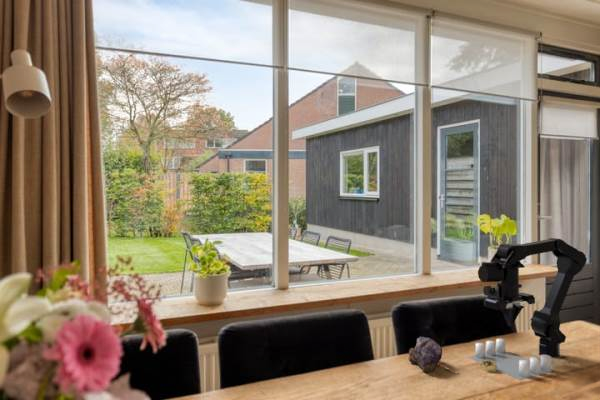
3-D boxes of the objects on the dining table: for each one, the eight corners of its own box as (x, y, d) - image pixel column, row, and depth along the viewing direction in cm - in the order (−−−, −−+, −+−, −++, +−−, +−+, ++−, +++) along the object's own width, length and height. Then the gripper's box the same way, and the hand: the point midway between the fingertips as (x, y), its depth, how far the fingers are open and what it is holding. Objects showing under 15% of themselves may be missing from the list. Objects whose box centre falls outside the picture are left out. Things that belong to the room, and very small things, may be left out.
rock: (418, 377, 136) (448, 374, 137) (419, 352, 134) (449, 350, 135) (405, 358, 147) (433, 355, 148) (406, 335, 146) (433, 333, 147)
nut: (488, 364, 139) (486, 357, 139) (500, 370, 135) (499, 363, 135) (478, 370, 138) (476, 363, 138) (490, 376, 133) (489, 369, 133)
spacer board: (501, 352, 153) (501, 337, 153) (554, 373, 135) (554, 356, 135) (468, 360, 146) (468, 344, 146) (519, 383, 128) (519, 365, 128)
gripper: (507, 274, 157) (508, 316, 157) (471, 279, 149) (471, 323, 149) (535, 279, 147) (536, 324, 147) (498, 285, 139) (498, 332, 139)
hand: (510, 325), depth 146 cm, fingers closed
